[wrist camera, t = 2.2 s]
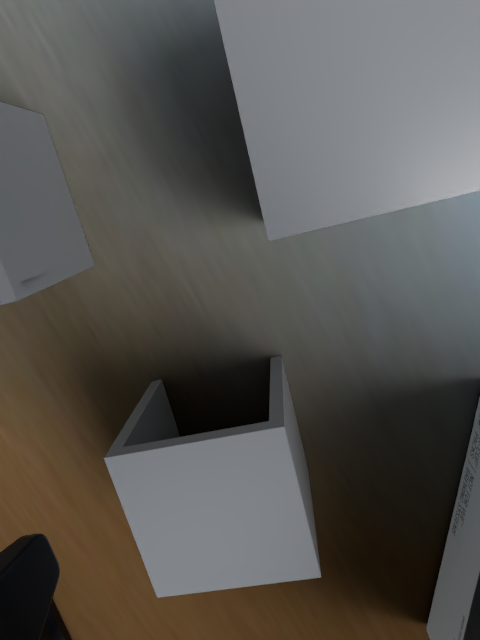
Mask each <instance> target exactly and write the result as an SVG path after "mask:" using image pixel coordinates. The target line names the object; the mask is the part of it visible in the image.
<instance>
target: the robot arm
mask: <svg viewBox="0 0 480 640" xmlns="http://www.w3.org/2000/svg"><path fill="white" fill-rule="evenodd" d="M59 573H60V569H59V563H58V561H57V559H56V556H55V554H54V552H53V550H52V548H51V545H50V543H49V541H48V539H47V537H46V536H45V535H43V534H32V535H25V536H22V537H20V538H19V539H17V540H16V541H15V542H13V543H12V544H11V545H9V546H8V547H7V548H5V549H4V550H3V551H1V552H0V640H71V638H70V636H69V633H68V631H67V629H66V627H65V625H64V623H63V621H62V619H61V616H60V614H59V612H58V610H57V608H56V606H55V604H54V602H53V599H52V598H53V595H54V592H55V588H56V585H57V582H58V579H59Z"/></svg>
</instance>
